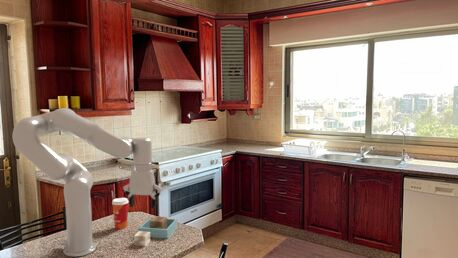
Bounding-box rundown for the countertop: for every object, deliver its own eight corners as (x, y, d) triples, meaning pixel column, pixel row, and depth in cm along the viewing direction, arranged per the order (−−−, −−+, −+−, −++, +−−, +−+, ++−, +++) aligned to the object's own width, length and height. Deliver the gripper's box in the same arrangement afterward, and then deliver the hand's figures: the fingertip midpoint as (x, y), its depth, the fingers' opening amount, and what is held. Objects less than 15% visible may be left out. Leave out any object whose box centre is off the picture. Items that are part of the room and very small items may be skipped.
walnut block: (150, 233, 157) (149, 220, 156) (155, 228, 162) (154, 216, 162) (162, 234, 156) (162, 221, 155) (167, 229, 161) (167, 217, 161)
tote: (138, 237, 154) (138, 227, 153) (150, 226, 167) (150, 217, 166) (167, 239, 151) (167, 230, 151) (177, 228, 165) (177, 219, 164)
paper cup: (111, 226, 166) (110, 198, 165) (128, 224, 170) (127, 196, 168) (113, 232, 159) (112, 203, 158) (130, 229, 163) (129, 201, 161)
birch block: (134, 247, 144) (134, 235, 144) (139, 242, 149) (139, 231, 149) (145, 248, 143) (145, 236, 143) (150, 242, 148) (150, 231, 148)
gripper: (119, 168, 141) (119, 208, 143) (158, 170, 138) (158, 211, 140) (127, 164, 149) (128, 202, 150) (165, 166, 146) (165, 205, 147)
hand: (142, 206), depth 145 cm, fingers open, 9 cm apart
